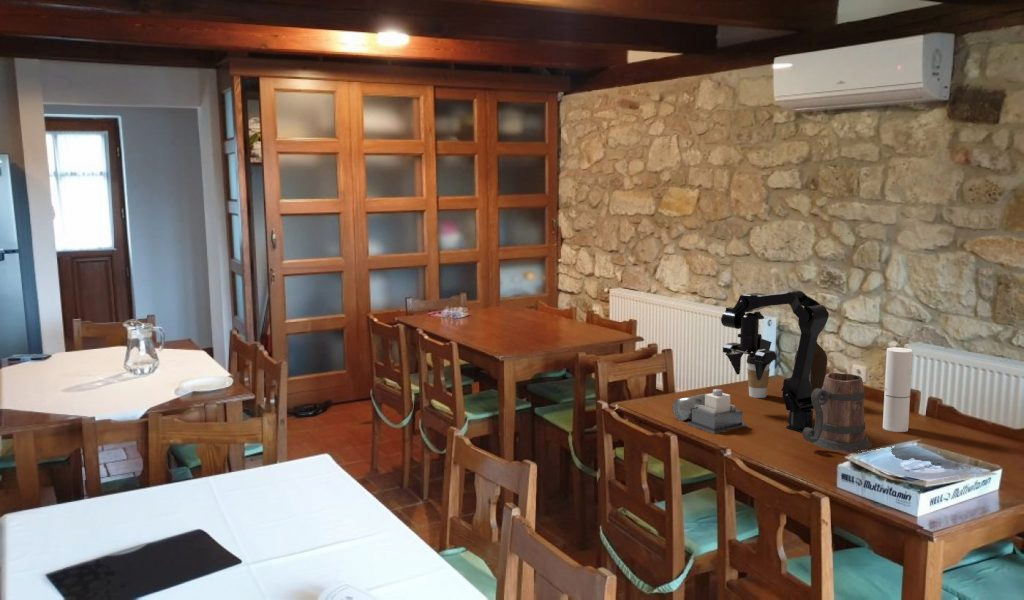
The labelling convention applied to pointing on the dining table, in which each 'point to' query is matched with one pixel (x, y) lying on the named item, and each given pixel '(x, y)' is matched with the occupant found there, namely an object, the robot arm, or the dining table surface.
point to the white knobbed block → (718, 401)
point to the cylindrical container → (897, 389)
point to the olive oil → (817, 368)
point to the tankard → (839, 414)
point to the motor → (707, 415)
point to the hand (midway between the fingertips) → (748, 377)
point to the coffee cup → (756, 386)
